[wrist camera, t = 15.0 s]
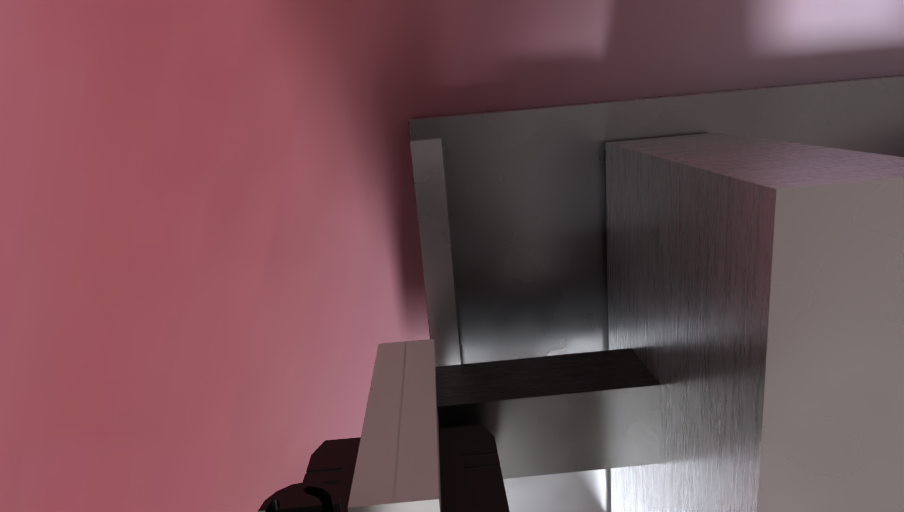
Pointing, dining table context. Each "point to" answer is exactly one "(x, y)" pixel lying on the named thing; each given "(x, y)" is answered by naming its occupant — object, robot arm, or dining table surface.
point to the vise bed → (579, 219)
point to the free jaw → (724, 337)
